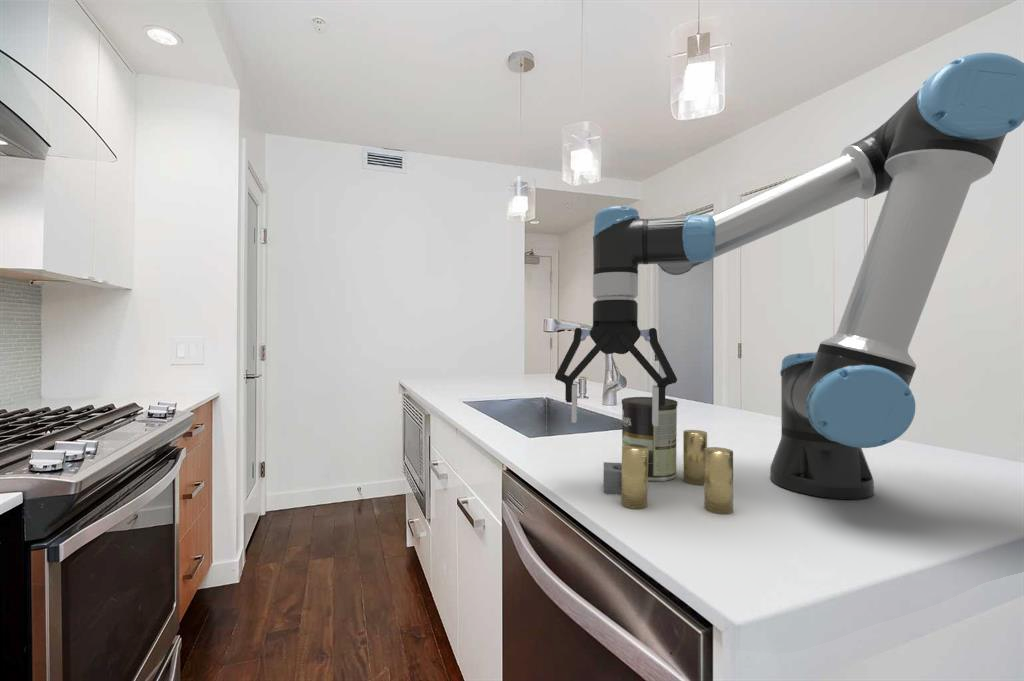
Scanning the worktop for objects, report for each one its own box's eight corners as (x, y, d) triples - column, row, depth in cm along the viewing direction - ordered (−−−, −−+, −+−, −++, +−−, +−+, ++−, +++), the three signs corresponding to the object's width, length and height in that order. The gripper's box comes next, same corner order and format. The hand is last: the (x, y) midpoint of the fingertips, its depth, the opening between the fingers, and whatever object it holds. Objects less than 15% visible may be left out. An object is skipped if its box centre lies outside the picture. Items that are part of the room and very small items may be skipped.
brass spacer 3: (729, 505, 72) (729, 447, 72) (736, 515, 68) (736, 454, 68) (701, 503, 73) (701, 446, 73) (707, 513, 69) (707, 452, 69)
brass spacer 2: (704, 479, 86) (704, 430, 85) (709, 485, 82) (709, 434, 82) (681, 477, 86) (681, 429, 86) (685, 484, 82) (685, 433, 82)
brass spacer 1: (645, 500, 74) (646, 444, 74) (648, 510, 70) (650, 451, 70) (619, 498, 75) (621, 443, 75) (621, 508, 71) (623, 449, 71)
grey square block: (635, 486, 82) (635, 463, 82) (637, 496, 77) (637, 472, 77) (603, 484, 83) (603, 461, 83) (603, 494, 78) (603, 470, 78)
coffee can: (624, 480, 85) (624, 403, 85) (619, 465, 95) (619, 396, 95) (683, 482, 83) (683, 404, 83) (671, 466, 94) (671, 397, 93)
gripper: (688, 300, 81) (686, 422, 81) (546, 302, 86) (545, 416, 86) (696, 297, 74) (694, 430, 74) (540, 298, 79) (539, 423, 79)
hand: (614, 423), depth 80 cm, fingers open, 13 cm apart
